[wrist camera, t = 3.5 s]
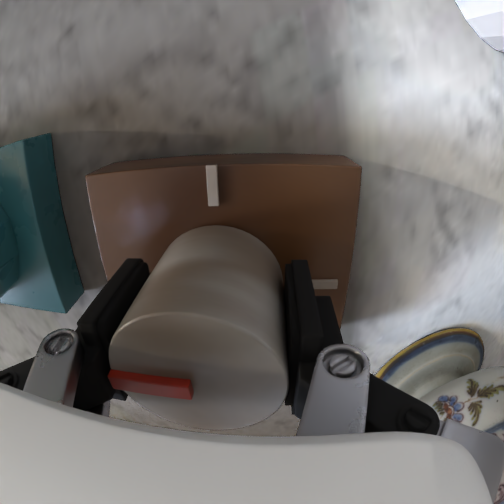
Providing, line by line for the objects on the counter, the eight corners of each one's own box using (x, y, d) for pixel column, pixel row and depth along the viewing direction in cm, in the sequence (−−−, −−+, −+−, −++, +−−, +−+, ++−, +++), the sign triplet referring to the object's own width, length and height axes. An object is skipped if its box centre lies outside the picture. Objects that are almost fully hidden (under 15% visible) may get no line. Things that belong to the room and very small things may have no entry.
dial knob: (284, 224, 10) (297, 325, 6) (280, 331, 13) (283, 441, 8) (151, 225, 11) (77, 313, 6) (170, 328, 13) (133, 427, 8)
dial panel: (344, 155, 12) (364, 167, 9) (326, 329, 16) (333, 365, 13) (113, 162, 12) (82, 176, 10) (145, 324, 16) (129, 356, 14)
